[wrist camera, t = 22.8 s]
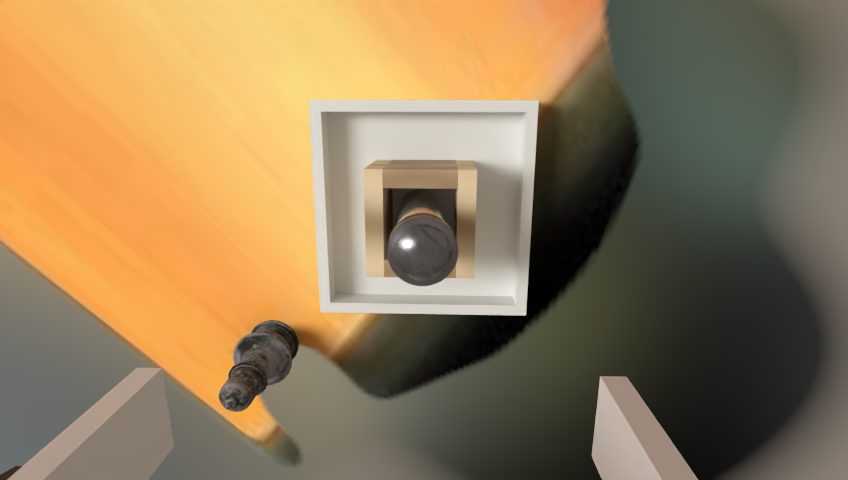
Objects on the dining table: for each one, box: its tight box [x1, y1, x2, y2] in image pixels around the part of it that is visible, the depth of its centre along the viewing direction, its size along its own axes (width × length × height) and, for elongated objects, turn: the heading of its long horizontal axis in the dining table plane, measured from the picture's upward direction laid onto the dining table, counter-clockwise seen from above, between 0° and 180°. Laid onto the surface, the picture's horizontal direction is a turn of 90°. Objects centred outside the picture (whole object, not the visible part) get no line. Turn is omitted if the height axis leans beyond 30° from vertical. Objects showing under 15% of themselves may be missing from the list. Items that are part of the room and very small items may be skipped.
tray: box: [309, 100, 539, 315], centre depth 47 cm, size 20×20×3 cm
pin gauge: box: [387, 189, 458, 286], centre depth 40 cm, size 5×5×15 cm
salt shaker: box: [219, 320, 299, 412], centre depth 47 cm, size 6×6×12 cm
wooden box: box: [363, 160, 477, 278], centre depth 44 cm, size 9×9×8 cm
